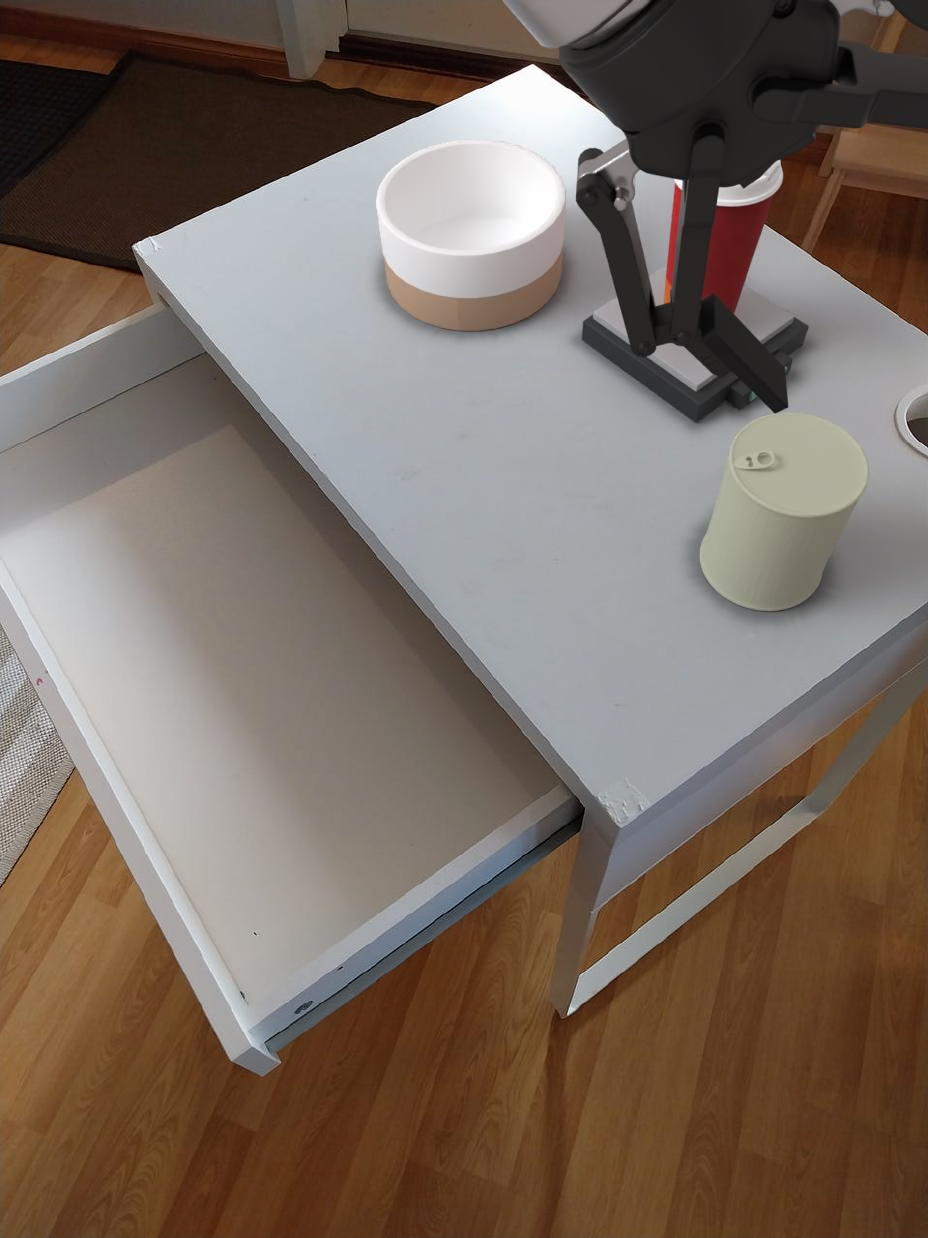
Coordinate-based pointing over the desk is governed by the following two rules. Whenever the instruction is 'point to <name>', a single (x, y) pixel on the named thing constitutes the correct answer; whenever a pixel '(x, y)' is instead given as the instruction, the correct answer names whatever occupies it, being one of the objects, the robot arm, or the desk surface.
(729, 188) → the coffee cup
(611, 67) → the robot arm
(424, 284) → the bowl
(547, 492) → the desk surface
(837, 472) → the can
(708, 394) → the scale
